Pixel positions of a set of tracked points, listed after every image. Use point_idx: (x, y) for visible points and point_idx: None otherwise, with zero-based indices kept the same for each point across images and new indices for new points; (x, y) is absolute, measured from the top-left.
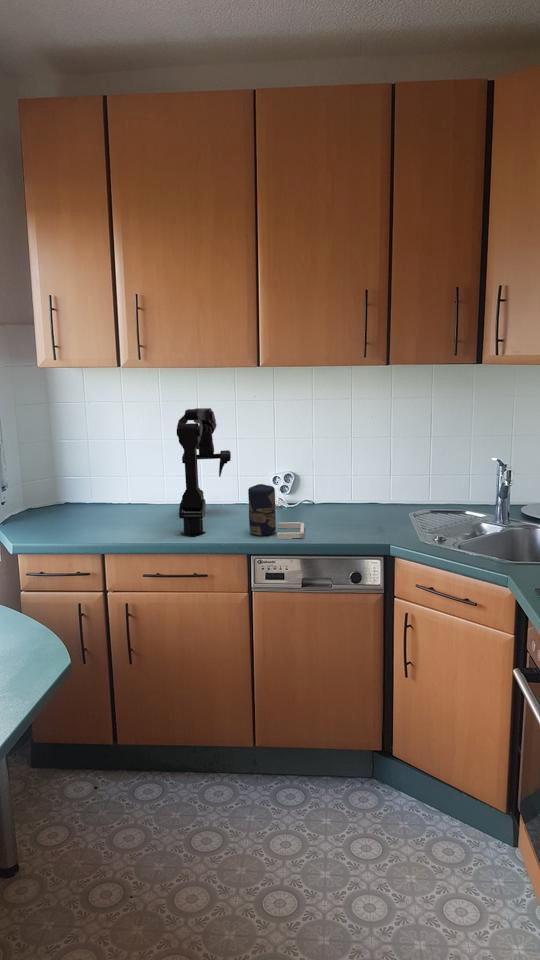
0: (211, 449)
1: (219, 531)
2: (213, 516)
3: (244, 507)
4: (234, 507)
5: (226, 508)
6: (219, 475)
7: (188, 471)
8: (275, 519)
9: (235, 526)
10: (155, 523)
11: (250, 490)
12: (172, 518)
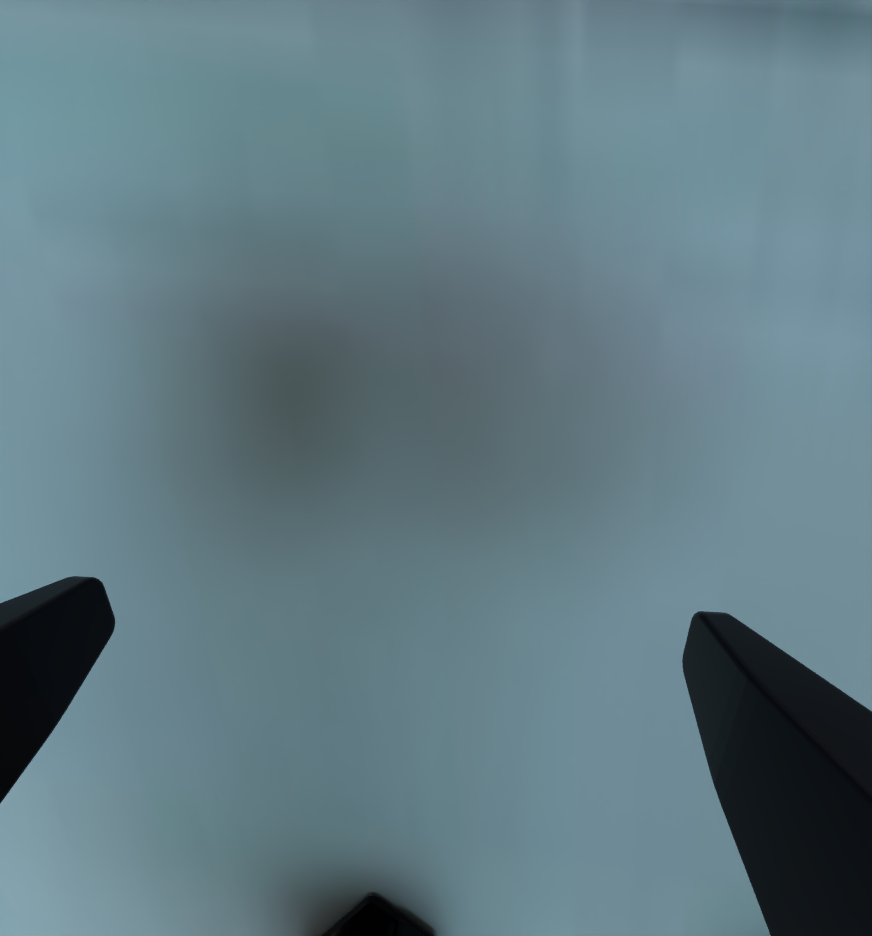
0: None
1: (543, 929)
2: (485, 538)
3: (811, 190)
4: (697, 180)
5: (607, 223)
6: (709, 731)
7: None
8: None
9: (658, 843)
10: None
11: None
12: (160, 558)
